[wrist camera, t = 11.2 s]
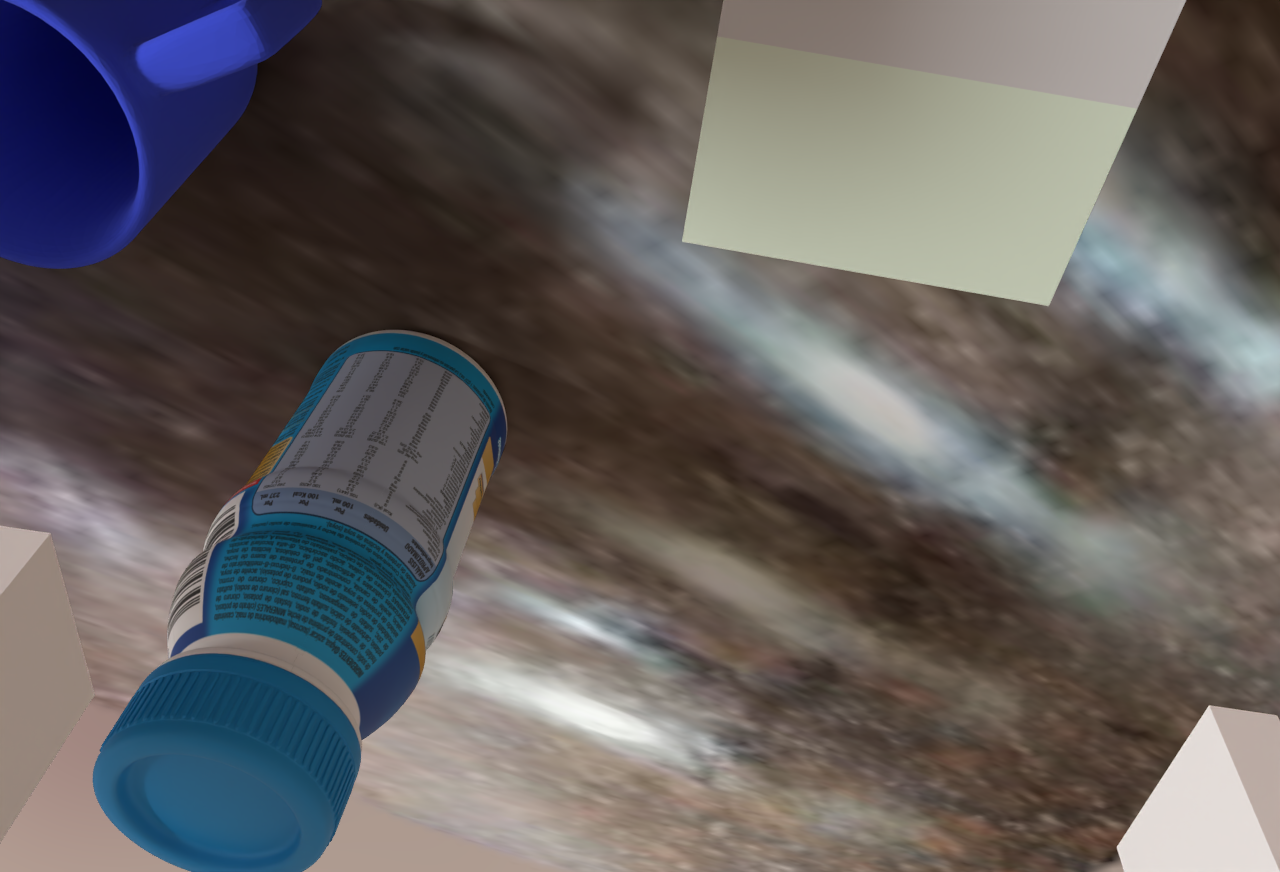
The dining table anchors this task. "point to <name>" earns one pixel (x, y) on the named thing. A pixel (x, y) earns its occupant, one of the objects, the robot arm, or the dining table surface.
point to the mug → (118, 111)
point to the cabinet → (920, 133)
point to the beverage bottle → (307, 612)
